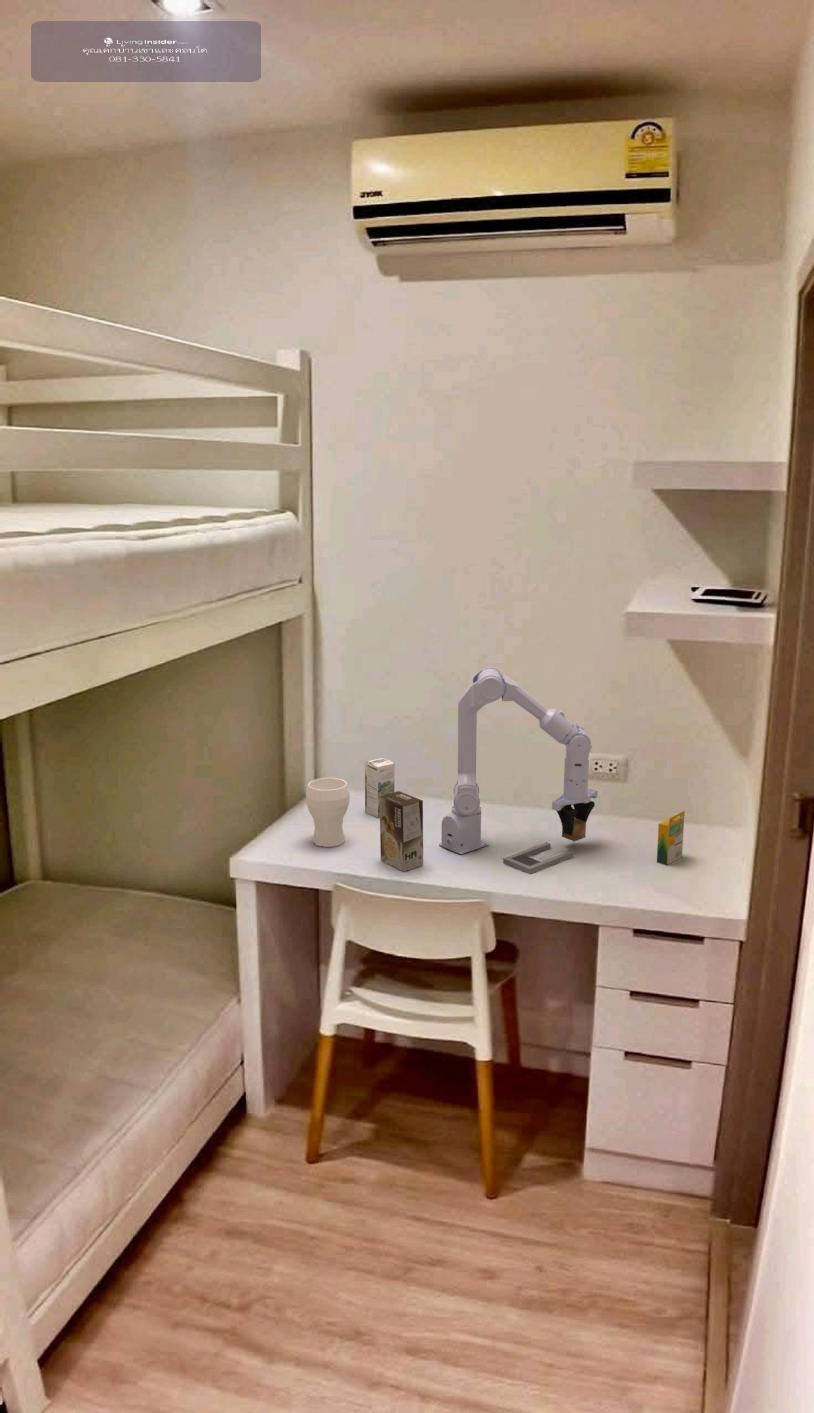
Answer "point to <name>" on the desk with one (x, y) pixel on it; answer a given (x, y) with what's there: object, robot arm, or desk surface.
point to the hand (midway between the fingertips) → (573, 831)
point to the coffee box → (401, 830)
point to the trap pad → (528, 861)
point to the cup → (328, 809)
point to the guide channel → (514, 863)
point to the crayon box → (670, 839)
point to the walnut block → (576, 830)
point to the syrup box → (378, 783)
